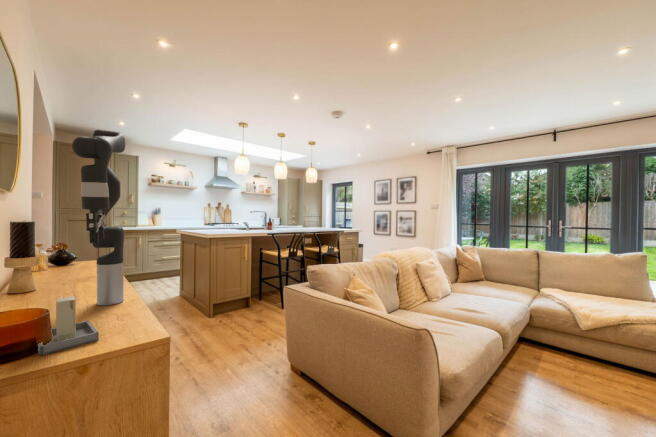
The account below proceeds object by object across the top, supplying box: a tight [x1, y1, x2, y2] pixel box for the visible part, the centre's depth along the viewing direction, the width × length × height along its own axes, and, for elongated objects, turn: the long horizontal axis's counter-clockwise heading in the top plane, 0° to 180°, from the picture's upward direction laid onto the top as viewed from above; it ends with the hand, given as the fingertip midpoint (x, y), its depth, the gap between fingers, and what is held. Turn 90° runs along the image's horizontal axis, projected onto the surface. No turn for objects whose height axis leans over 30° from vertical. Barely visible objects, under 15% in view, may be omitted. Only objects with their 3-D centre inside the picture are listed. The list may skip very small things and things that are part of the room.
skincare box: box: [55, 295, 77, 342], centre depth 85 cm, size 6×4×12 cm
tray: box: [37, 319, 100, 357], centre depth 85 cm, size 15×13×2 cm
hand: (97, 241), depth 99 cm, fingers open, 8 cm apart
